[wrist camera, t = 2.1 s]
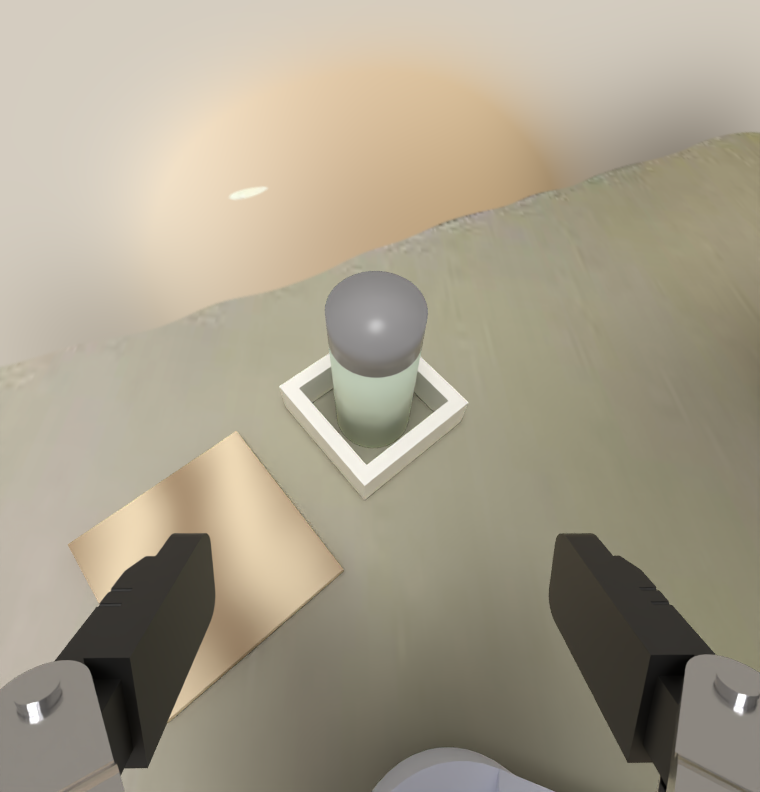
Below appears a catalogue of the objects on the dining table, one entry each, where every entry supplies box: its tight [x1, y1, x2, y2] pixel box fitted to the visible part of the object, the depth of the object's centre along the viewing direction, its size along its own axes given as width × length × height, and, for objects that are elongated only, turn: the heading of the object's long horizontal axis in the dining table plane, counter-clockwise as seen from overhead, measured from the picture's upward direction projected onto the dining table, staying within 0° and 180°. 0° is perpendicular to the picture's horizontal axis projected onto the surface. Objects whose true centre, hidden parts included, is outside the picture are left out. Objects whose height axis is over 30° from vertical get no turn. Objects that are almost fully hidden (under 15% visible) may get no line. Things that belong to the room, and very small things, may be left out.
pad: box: [68, 431, 344, 723], centre depth 25 cm, size 10×10×1 cm
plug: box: [325, 271, 428, 448], centre depth 25 cm, size 4×4×10 cm
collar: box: [279, 353, 469, 500], centre depth 28 cm, size 8×8×2 cm
